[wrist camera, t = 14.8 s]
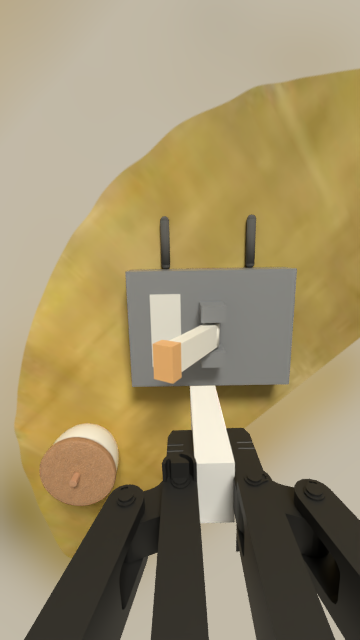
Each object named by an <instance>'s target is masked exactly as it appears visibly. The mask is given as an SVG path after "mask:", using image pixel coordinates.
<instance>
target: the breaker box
mask: <svg viewBox="0 0 360 640" xmlns="http://www.w3.org/2000/svg"><path fill="white" fill-rule="evenodd" d="M296 274H297V269H296V268H288V267H256V268H202V269H148V270H130V271H126V289H127V306H128V323H129V340H130V357H131V373H132V387H150V386H210V385H270V384H289V374H290V360H291V346H292V331H293V317H294V303H295V289H296ZM205 323H220V332H219V347H217V348H215V349H214V350H213V351H211V352H210V353H208V354H207V355H205V356H204V357H203V358H201V359H200V360H198V361H197V362H195V363H194V364H193V365H191V366H190V367H188V368H187V369H185V370H184V371H183V372H182V378H180V379H179V380H178V381H176V382H175V383H173V384H172V383H168V382H164V381H160V380H156V379H154V367H153V343H156V342H158V341H160V340H168V341H169V340H171V339H174V338H176V337H178V336H180V335H182V334H184V333H186V332H188V331H190V330H192V329H194V328H196V327H198V326H200V325H202V324H205Z"/></svg>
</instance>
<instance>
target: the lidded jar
mask: <svg viewBox="0 0 360 640" xmlns="http://www.w3.org/2000/svg"><path fill="white" fill-rule="evenodd" d="M118 462H119V450H118V446H117V443H116V440H115V439H114V437H113V435H112V434H111V433H110V432H109V431H108V430H107V429H105V428H104V427H102V426H100V425H97V424H92V423H85V424H79V425H76V426H74V427H72V428H70V429H68V430H67V431H65V432H64V433H63V434H62V435H61V436H60V437H59V438H58V439H57V440H56V441H55V442H54V443H53V445H52V446H51V447H50V448H49V449H48V451H47V452H46V453H45V455H44V456H43V458H42V460H41V464H40V477H41V481H42V483H43V485H44V487H45V488H46V490H47V491H48V492H49V493H50V494H51V495H52V496H53V497H54V498H56V499H58V500H59V501H61V502H64V503H66V504H70V505H76V506H84V505H90V504H93V503H96V502H98V501H100V500H102V499H103V498H104V497H106V496H107V495H108V494H109V492H110V491H111V489H112V488H113V485H114V482H115V479H116V473H117V469H118Z"/></svg>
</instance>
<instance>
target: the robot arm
mask: <svg viewBox="0 0 360 640" xmlns="http://www.w3.org/2000/svg"><path fill="white" fill-rule="evenodd" d="M190 402H191V430H178V431H172V432H171V434H170V435H169V436H168V444H167V445H168V446H167V456H166V457H165V458H164V460H163V462H162V472H163V481H162V482H161V483H160V484H159V485H158V486H156V487H155V488H152V489H150V490H147V491H144V492H143V490H142V489H140V488H139V487H138V486H135V485H124V486H120V487H118V488H117V489H115V490H114V491H113V492H112V493H111V494H110V495H109V497H108V499H107V500H106V502H105V504H104V505H103V507H102V509H101V510H100V512H99V514H98V516H97V517H96V519H95V521H94V522H93V524H92V526H91V527H90V529H89V531H88V532H87V534H86V536H85V538H84V539H83V541H82V543H81V544H80V546H79V548H78V549H77V551H76V553H75V554H74V556H73V558H72V560H71V561H70V563H69V565H68V566H67V568H66V570H65V571H64V573H63V575H62V577H61V578H60V580H59V582H58V583H57V585H56V587H55V588H54V590H53V592H52V593H51V595H50V597H49V598H48V600H47V602H46V604H45V605H44V607H43V609H42V610H41V612H40V614H39V615H38V617H37V619H36V621H35V622H34V624H33V625H32V627H31V629H30V631H29V632H28V634H27V636H26V637H25V639H24V640H120V638H121V635H122V632H123V630H124V626H125V624H126V621H127V618H128V615H129V612H130V609H131V606H132V603H133V600H134V598H135V595H136V592H137V588H138V585H139V583H140V580H141V577H142V574H143V571H144V568H145V566H146V562H147V559H148V556H149V555H152V554H155V553H157V552H158V554H157V567H156V580H155V593H154V605H153V618H152V631H151V640H209V637H208V623H207V609H206V596H205V582H204V568H203V554H202V540H201V528H200V527H201V526H200V523H222V522H234V513H235V518H236V523H237V537H236V539H237V540H236V551H240V556H241V561H242V566H243V572H244V577H245V581H246V587H247V592H248V597H249V602H250V608H251V613H252V618H253V623H254V629H255V634H256V639H257V640H335V638H334V636H333V633H332V631H331V628H330V625H329V623H328V620H327V618H326V616H325V613H324V611H323V608H322V605H321V603H320V600H319V598H318V596H319V597H320V599H321V601H322V602H323V604H324V605H325V607H326V609H327V610H328V612H329V614H330V615H331V617H332V618H333V620H334V622H335V623H336V625H337V627H338V628H339V630H340V631H341V633H342V635H343V636H344V638H345V640H360V520H359V519H357V517H356V516H355V515H354V514H353V513H352V512H351V511H350V510H349V509H348V508H347V507H346V506H345V504H344V503H343V502H342V501H341V500H340V499H339V498H338V497H337V496H336V495H335V494H334V493H333V492H332V491H331V490H330V489H329V488H328V487H327V486H326V485H324V484H323V483H321V482H318V481H316V480H312V479H302V480H300V481H298V482H297V483H296V484H295V487H289V486H284V485H281V484H278V483H276V482H274V481H272V479H271V478H270V476H269V475H268V474H267V473H266V472H265V471H263V468H262V466H261V463H260V461H259V458H258V455H257V453H256V450H255V448H254V445H253V443H252V440H251V437H250V434H249V433H248V432H247V431H246V430H245V429H244V428H226V426H225V422H224V418H223V414H222V411H221V407H220V403H219V399H218V395H217V391H216V387H215V385H214V386H190ZM316 592H317V593H316ZM317 594H318V595H317Z"/></svg>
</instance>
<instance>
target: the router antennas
mask: <svg viewBox="0 0 360 640" xmlns="http://www.w3.org/2000/svg"><path fill="white" fill-rule="evenodd" d="M160 228H161V260H162V268H163V269H168V268H169V267H170V243H169V219H168V218H167V217H166V216H164V217H162V218H161V219H160ZM255 231H256V217H255V216H254V215H249V216H248V218H247V236H246V266H247V267H248V268H251V267H253V266H254V258H255Z"/></svg>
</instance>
